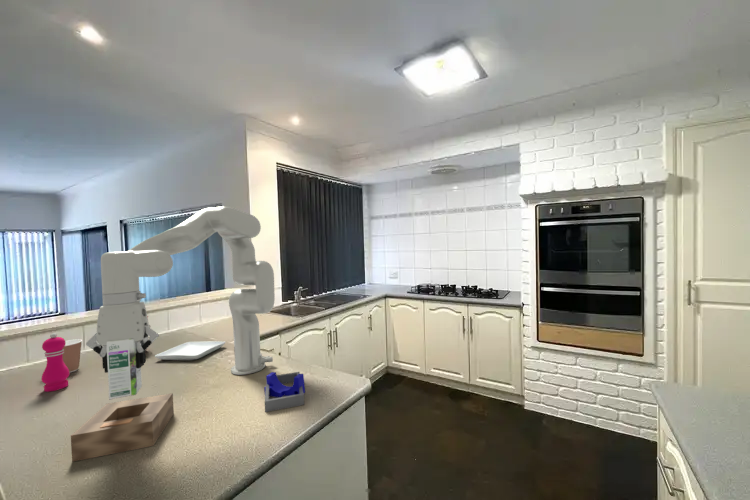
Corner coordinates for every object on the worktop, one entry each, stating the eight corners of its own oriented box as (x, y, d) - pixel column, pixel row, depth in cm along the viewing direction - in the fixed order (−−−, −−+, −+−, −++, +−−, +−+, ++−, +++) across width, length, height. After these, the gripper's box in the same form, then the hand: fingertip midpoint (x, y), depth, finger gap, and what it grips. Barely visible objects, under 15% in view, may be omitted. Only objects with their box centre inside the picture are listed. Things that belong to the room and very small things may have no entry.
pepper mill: (38, 394, 111) (34, 337, 111) (47, 386, 117) (44, 332, 117) (65, 389, 114) (62, 333, 114) (73, 382, 121) (70, 329, 120)
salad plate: (188, 347, 160) (187, 340, 160) (226, 347, 157) (226, 340, 157) (153, 363, 139) (152, 355, 139) (197, 363, 136) (196, 355, 136)
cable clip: (265, 396, 102) (263, 378, 101) (273, 389, 106) (272, 372, 106) (297, 399, 98) (295, 379, 98) (305, 392, 102) (303, 373, 102)
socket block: (173, 413, 93) (172, 392, 93) (153, 445, 77) (152, 420, 77) (107, 425, 88) (106, 402, 88) (72, 461, 73) (70, 434, 73)
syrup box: (108, 400, 78) (105, 342, 78) (116, 391, 84) (113, 336, 84) (136, 395, 81) (133, 338, 81) (142, 386, 86) (140, 333, 86)
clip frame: (299, 380, 112) (299, 371, 112) (304, 404, 94) (303, 394, 94) (267, 385, 109) (266, 376, 109) (265, 412, 91) (264, 401, 91)
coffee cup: (44, 374, 130) (42, 345, 130) (75, 365, 139) (74, 338, 139) (58, 377, 126) (56, 347, 126) (89, 368, 136) (87, 340, 135)
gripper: (164, 294, 88) (168, 359, 88) (89, 300, 83) (92, 368, 83) (155, 298, 81) (158, 368, 81) (71, 304, 76) (75, 379, 76)
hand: (125, 367), depth 82 cm, fingers closed on syrup box, 6 cm apart
